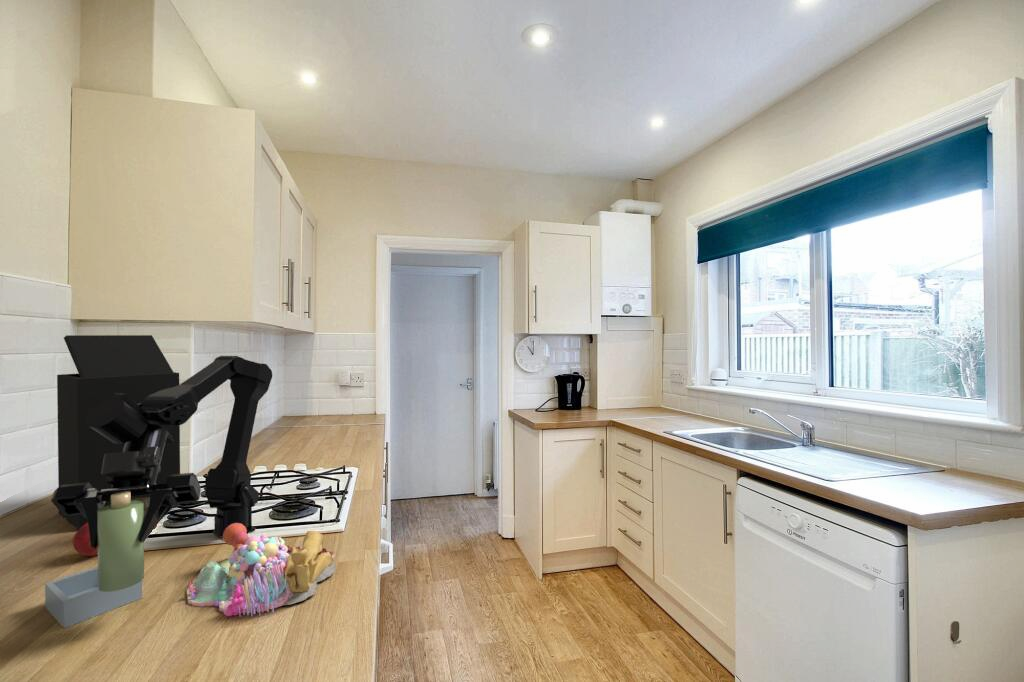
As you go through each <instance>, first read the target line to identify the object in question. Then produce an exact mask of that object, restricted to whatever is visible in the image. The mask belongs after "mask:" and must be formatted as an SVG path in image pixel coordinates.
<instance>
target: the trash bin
mask: <svg viewBox="0 0 1024 682" xmlns="http://www.w3.org/2000/svg"><path fill="white" fill-rule="evenodd" d="M63 340H64V343H65V345H66V348H67V349H68V351H69V355H70V356H71V359H72V361H73V363H74V366H75V368H76V371H77V373H69V374H68V373H66V374H64V373H63V374H56V385H57V386H56V387H57V388H56V389H57V392H56V393H57V395H56V396H57V461H58V462H57V464H58V465H57V466H58V467H57V469H58V470H57V471H58V472H57V474H58V476H57V479H58V480H57V481H58V482H57V484H58V487H60V486H61V485H66V484H76V483H87V482H89V483H90V485H91V486H92V487H93V488H98V489H111V488H112V484H108V483H107V482H106V479H107V476H106V475H101V471H102V465H103V459H104V454H108V453H120V452H123V449H124V446H125V443H122V444H115V443H113V442H111V441H110V440H108V439H107V438H105V437H104V436H102V435H101V434H99V433H98V432H96V431H95V430H93V429H92V428H90V427H89V426H88V425H86V422H85V419H86V416H87V414H88V412H89V411H90V410H91V409H92V408H95V407H96V406H97V405H99V404H100V403H102V402H104V401H106V400H109V399H111V398H112V396H113V395H114V394H126V395H128V396H129V397H130V398H131V399H132V401H133V402H135V403H136V404H139V403H142V401H143V400H144V399H145V398H146V397H147V396H149V395H151V394H154V393H156V392H158V391H161V390H164V389H168V388H172V387H175V386H178V385H180V372H176V371H175V372H174V371H173V369H172V367H171V365H170V364H169V362H168V361H167V359H166V357H165V354H164V353H163V352H162V350H161V348H160V347H159V345H158V343H157V341H156V340H155V338H154V336H153V335H151V334H150V335H149V334H148V335H147V334H145V335H144V334H141V335H140V334H138V335H136V334H135V335H134V334H133V335H131V334H130V335H129V334H128V335H121V334H120V335H119V334H118V335H116V334H115V335H114V334H113V335H112V334H110V335H109V334H105V335H102V334H101V335H100V334H99V335H98V334H97V335H95V334H94V335H93V334H92V335H91V334H89V335H86V334H84V335H80V334H79V335H68V334H67V335H65V336H64V337H63ZM159 426H161V427H162V428H163V429H165V430H167V431H168V433H169V434H170V435H171V436H172V437H173V439H174V443H171V444H167V445H165V446H164V450H163V454H162V458H161V462H160V467H161V470H160V473H158V475H157V479H156V484H164V483H166V482H167V477H168V476H169V475H174V474H181V436H180V435H181V434H180V433H181V425H159ZM109 504H111V501H106V502H105V505H104V506H106V505H109ZM179 506H181V503H179ZM58 514H59V515H60V516H61V517H62V518H63V519H65V521H67V522H68V523H69V524H70V525H72V527H74V528H75V529H76V530H77V531H78V530H79V529H80V528H81V527H82V526H83V525H84V524H86V523H87V522H88V520H87V518H85V517H84V516H83V515H82V514H81V515H72V516H67V515H63V514H62V513H61V512H60V511H59V510H58Z"/></svg>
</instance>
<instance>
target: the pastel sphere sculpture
mask: <svg viewBox="0 0 1024 682" xmlns="http://www.w3.org/2000/svg"><path fill="white" fill-rule="evenodd" d="M323 538H324V534H322V533H320V532H318V531H315V530H307V531H306V533H305V535H304V536H303V541H302V545H300V546H296V547H290V546H289V545H285V543H286V542H285V540H284V539H283V538H282V537H277V536H271V537H270V538H269V537H268V536H267V535H266V534H261V535H260V536H259V535H251V536H249V535H248V533H247V530H246V527H245V526H244V525H243V524H241V523H233V524H231V525H229V526H228V527H227V528H226V529H225V530H224V532H223V538H222V540H223V542H224V543H225V544H227V545H229V546H232V547H233V550H232V555H230V556H229V557H228V558H226V559H224V560H222V561H221V562H218V561H214V560H211V561H207V563H206V564H205V566H204V567H203V568H201V570H200V572H199V573H198V575H197V578H195V579H193V581H192V582H189V587H188V588H186V597H187V604H188V605H192V606H193V607H204V606H205V607H207V606H215V607H218V609H219V612H223V614H224V616H227V617H232V616H238V615H239V618H241V614H242V615H243V616H244V615H246V616H250V615H251V618H253V617H254V616H255V615H256V612H257V614H258V613H259V614H258V615H259V617H261V614H262V613H264V612H268V613H269V612H270V610H271V611H272V614H274V610H275V609H277V608H279V607H282V606H289V605H294V604H296V603H299V602H302V601H305V600H307V599H308V598H310V597H312V596H313V595H315V594H316V593H317V589H316V588H317V587H318V582H321V581H324V580H326V579H327V578H329V577H331V576H332V575H333V574H334V573H335V572H336V570H337V569H336V568H335V567H336V564H335V562H334V559H335V553H334V552H333V551H331V550H327V548H325V547H323V545H322V541H323ZM253 615H254V616H253Z"/></svg>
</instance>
